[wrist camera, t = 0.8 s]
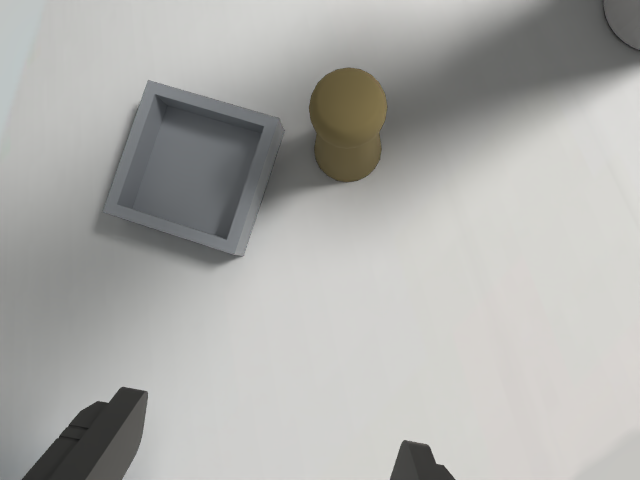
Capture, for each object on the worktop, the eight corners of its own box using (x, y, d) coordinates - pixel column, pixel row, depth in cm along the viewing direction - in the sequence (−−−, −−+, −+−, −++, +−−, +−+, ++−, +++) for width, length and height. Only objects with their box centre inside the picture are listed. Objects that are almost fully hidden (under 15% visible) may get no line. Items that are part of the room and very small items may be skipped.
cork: (301, 141, 37) (281, 88, 26) (355, 103, 37) (359, 33, 26) (339, 195, 36) (336, 164, 25) (395, 156, 36) (415, 108, 25)
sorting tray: (163, 94, 38) (148, 79, 35) (284, 130, 37) (279, 118, 34) (121, 216, 38) (102, 212, 35) (243, 256, 37) (234, 254, 34)
